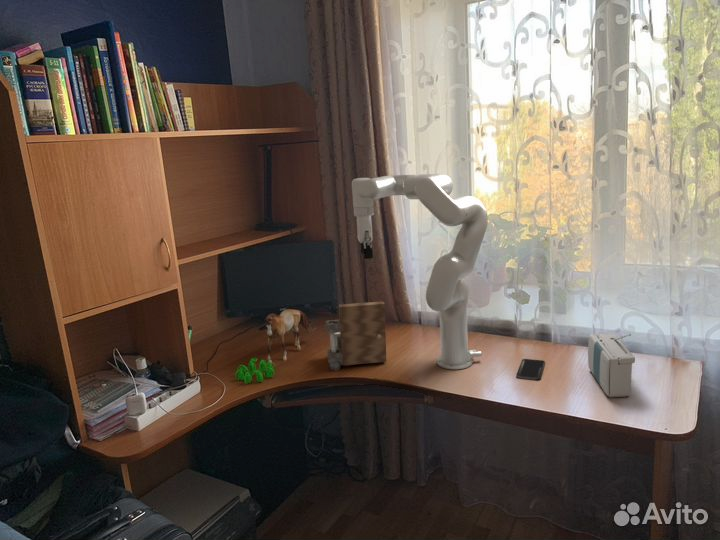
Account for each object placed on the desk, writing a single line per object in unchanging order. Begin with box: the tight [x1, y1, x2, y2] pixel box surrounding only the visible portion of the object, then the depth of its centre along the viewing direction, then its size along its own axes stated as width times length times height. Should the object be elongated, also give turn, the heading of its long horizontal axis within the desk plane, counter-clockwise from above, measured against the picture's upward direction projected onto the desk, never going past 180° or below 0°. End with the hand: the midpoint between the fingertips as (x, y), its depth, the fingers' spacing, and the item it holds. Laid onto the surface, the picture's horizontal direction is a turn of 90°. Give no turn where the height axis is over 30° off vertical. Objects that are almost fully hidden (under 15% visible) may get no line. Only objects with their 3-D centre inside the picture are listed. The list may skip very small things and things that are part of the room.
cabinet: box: [329, 323, 342, 371], centre depth 212 cm, size 18×13×17 cm
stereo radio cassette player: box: [587, 333, 636, 398], centre depth 179 cm, size 21×8×20 cm, turn 174°
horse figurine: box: [264, 308, 317, 365], centre depth 223 cm, size 31×8×21 cm, turn 153°
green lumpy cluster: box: [234, 357, 277, 385], centre depth 207 cm, size 15×15×7 cm
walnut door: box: [325, 301, 387, 366], centre depth 207 cm, size 21×5×22 cm, turn 96°
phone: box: [515, 358, 546, 381], centre depth 195 cm, size 8×1×15 cm
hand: (367, 255), depth 220 cm, fingers open, 9 cm apart
